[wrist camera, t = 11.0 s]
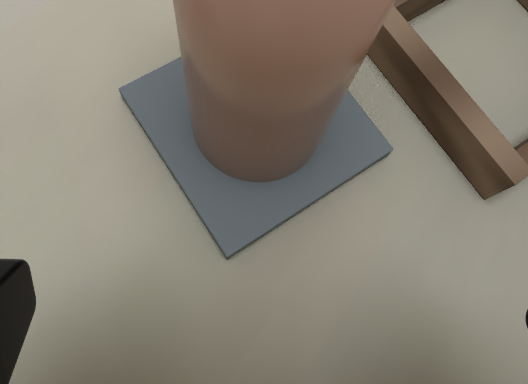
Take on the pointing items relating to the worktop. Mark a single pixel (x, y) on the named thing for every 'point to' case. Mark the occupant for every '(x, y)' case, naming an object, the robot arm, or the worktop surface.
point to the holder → (446, 103)
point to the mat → (238, 191)
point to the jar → (270, 76)
